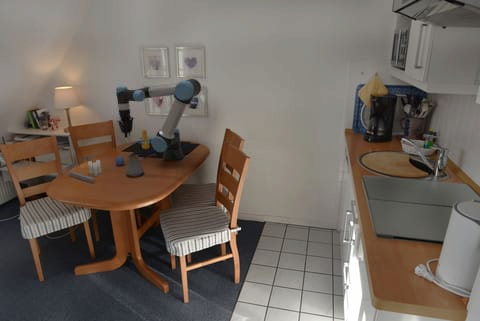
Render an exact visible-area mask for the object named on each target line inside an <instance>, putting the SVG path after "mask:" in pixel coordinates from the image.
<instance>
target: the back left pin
mask: <svg viewBox="0 0 480 321" xmlns="http://www.w3.org/2000/svg"><path fill="white" fill-rule="evenodd" d="M92 167H93V172H94V174H93V175H94V177H98V176H99V173H98V169H97V163H96V162H92Z"/></svg>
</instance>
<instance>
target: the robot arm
mask: <svg viewBox="0 0 480 321" xmlns="http://www.w3.org/2000/svg"><path fill="white" fill-rule="evenodd" d="M115 91H116V92H115V94H116V99H117V108H118V116H119V119H118V120H116V122H117V124H118V126H119V130H120V132H121V133H122V134H124V138H125V142H126V143H130V142H131V132H132V131H133V126H134V125H133V124H134V123H133V122H134V120H135V118H134V117H132V116H131V109H130V107H131V106H130V102H137V103H138V102H144V100H146V99H152V98H158V97H159V98H160V97H168V96H173V98H174V101H173V102H172V105H171V107H170V110H169V112H168V114H167V116H166V119H165V121H164V123H163V125H162V127H161V128H159V129H158V131H157V133H156V135H155V136H154V137H152V139H151V142H150V145H151V146H152V148H153V150H155V151H156V152H157V153H163V155H162V159H163V161H165V162H179V161H182V160H183V159H184V158H185V157H184V153H183V150H182V148H181V134H180V128H178V125H179V123H180V120H181V119H182V117H183V114H184V112H185V110H186V109H187V107H188V105H191V103H192V101H193V98H194V97H197V96H198V95H199V94H200V93H201V91H202V84H201V82H200V81H198V80H197V79H195V78H188V79H184V80H181V81H179V82H177V83H171V84H161V85H155V86H154V85H153V86H145V87H142V88H141V87H140V88H137V89H128V86H126V85H124V86H123V85H122V86H117V87H116V88H115Z"/></svg>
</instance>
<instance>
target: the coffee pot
mask: <svg viewBox="0 0 480 321" xmlns="http://www.w3.org/2000/svg"><path fill="white" fill-rule="evenodd" d="M153 156H154V157H155V158H156V157H157V154H156V153H151V154H149V155H147V156H144V157H143V158H140V159H138V157H139V155H138V154H130V155H128V156H127V158H128V163H127V166H126V169H125V173H126V174H127V175H128V176H130V177H139V176H141V175H142V174H143V173H144V171H145V169H144V167H143V166H142V164H141V162H140V161H143V160H146V159H148V158H151V157H153Z"/></svg>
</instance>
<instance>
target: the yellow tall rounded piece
mask: <svg viewBox="0 0 480 321" xmlns="http://www.w3.org/2000/svg"><path fill="white" fill-rule="evenodd" d="M147 132H148V131H147V129H141V138H138V139H137V143H138V144H141V148H142V149H144V150H147V149H150V147H151V146H150V143H151V141H152V139H153V137H151V136H150V137H149V136H148V133H147ZM149 139H151V141H150V140H149Z"/></svg>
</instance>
